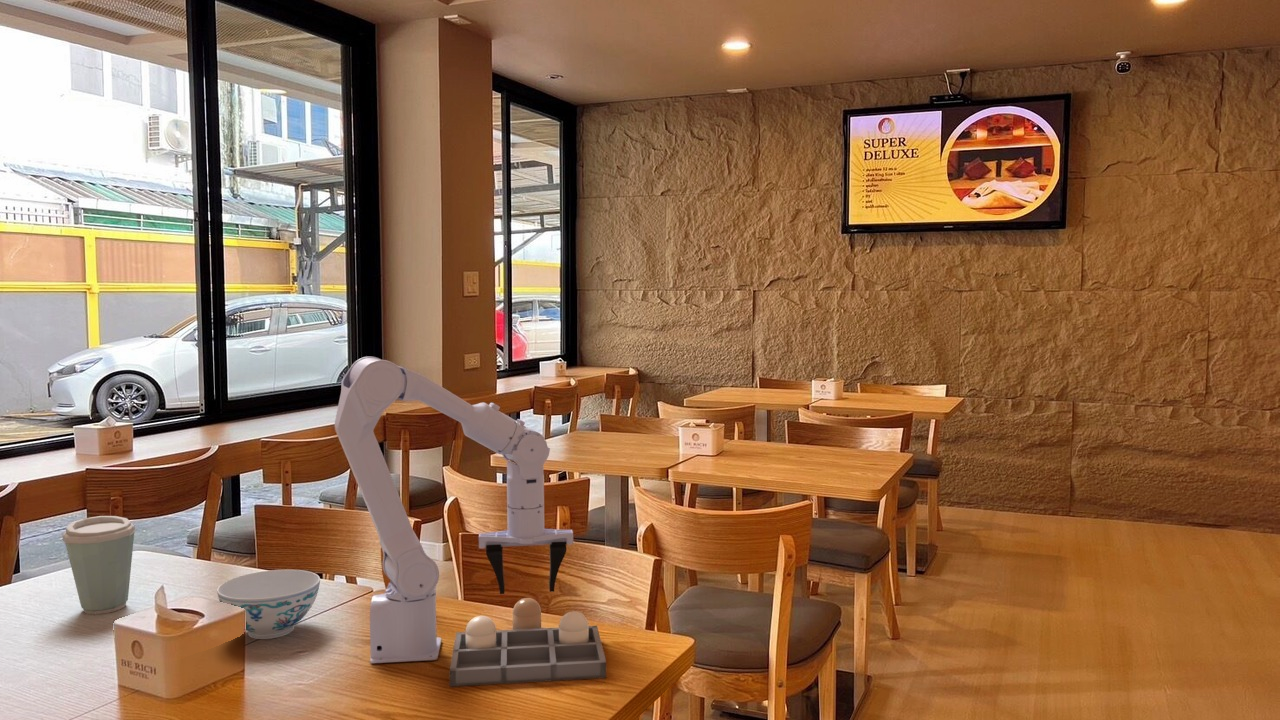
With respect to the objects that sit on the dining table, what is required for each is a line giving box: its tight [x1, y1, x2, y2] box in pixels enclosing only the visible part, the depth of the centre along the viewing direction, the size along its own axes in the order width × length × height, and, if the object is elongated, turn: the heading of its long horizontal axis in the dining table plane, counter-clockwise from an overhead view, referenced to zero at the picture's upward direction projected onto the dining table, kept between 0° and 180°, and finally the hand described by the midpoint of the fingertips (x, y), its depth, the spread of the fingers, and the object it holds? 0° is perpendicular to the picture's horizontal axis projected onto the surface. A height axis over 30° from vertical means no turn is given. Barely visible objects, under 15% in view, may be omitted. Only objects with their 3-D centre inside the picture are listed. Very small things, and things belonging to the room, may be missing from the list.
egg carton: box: [449, 610, 607, 688], centre depth 133 cm, size 21×14×6 cm
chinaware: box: [216, 569, 321, 640], centre depth 146 cm, size 15×15×8 cm
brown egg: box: [512, 597, 542, 630], centre depth 145 cm, size 4×4×5 cm
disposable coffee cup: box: [61, 515, 137, 615], centre depth 156 cm, size 11×11×15 cm
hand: (527, 590), depth 145 cm, fingers open, 7 cm apart
